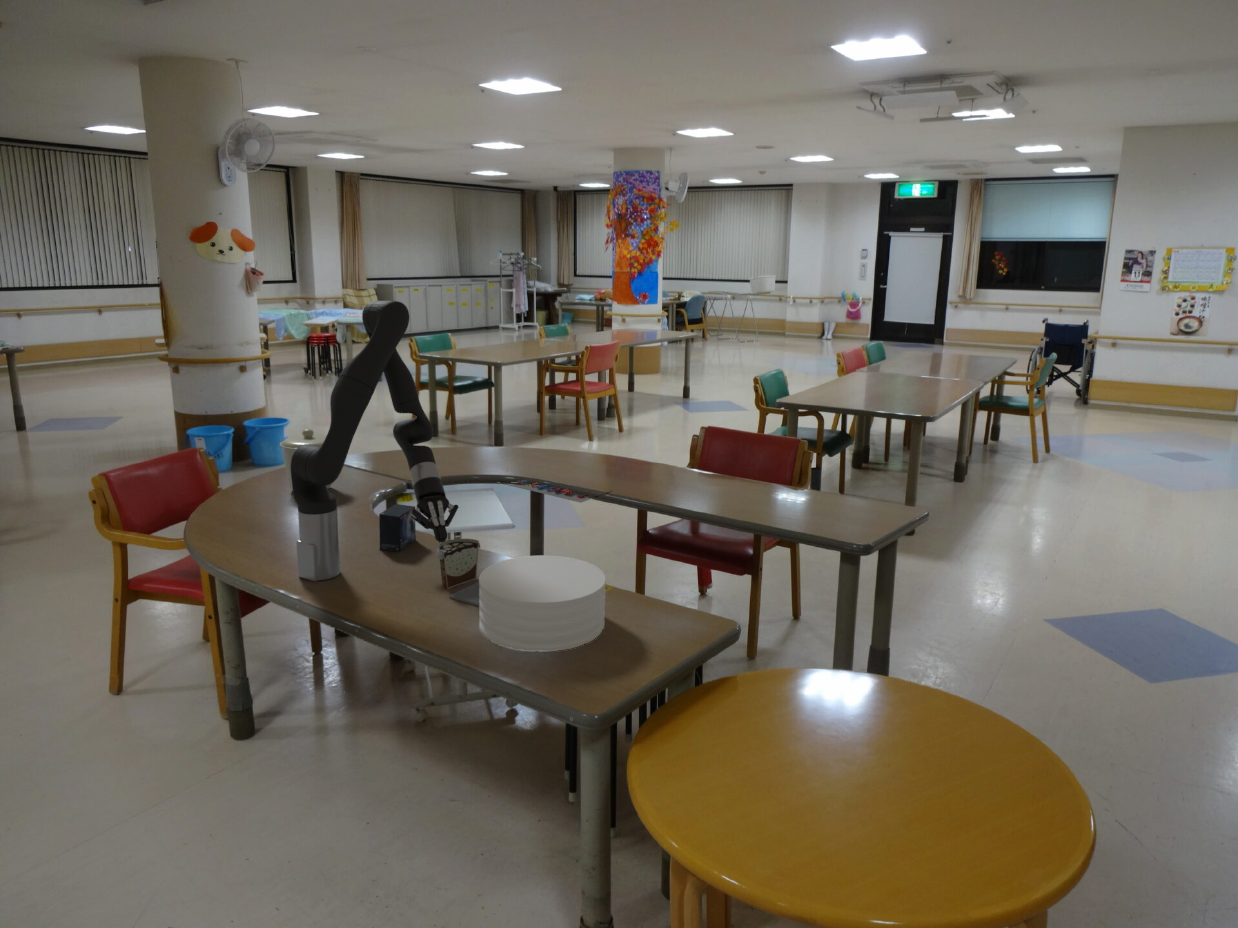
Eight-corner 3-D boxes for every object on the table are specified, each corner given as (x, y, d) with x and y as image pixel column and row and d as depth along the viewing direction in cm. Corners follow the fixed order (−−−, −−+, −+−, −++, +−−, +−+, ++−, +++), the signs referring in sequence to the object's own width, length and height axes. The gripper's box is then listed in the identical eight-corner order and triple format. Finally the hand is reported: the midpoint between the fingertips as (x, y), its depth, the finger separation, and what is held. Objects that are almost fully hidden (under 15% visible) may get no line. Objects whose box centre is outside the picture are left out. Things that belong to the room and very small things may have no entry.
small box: (400, 552, 235) (399, 516, 232) (378, 550, 236) (377, 513, 233) (417, 540, 245) (416, 505, 242) (396, 538, 246) (394, 503, 244)
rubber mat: (482, 607, 201) (482, 605, 201) (449, 597, 206) (449, 595, 206) (528, 583, 216) (528, 581, 216) (496, 575, 221) (496, 572, 221)
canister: (348, 484, 298) (345, 425, 293) (323, 499, 281) (320, 436, 275) (299, 481, 300) (296, 422, 295) (272, 495, 283) (267, 432, 278)
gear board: (614, 485, 301) (580, 497, 286) (614, 492, 302) (580, 504, 286) (518, 463, 326) (482, 473, 311) (518, 470, 327) (482, 480, 311)
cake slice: (464, 571, 223) (464, 534, 221) (480, 577, 219) (480, 540, 217) (426, 584, 214) (425, 546, 211) (442, 590, 210) (441, 552, 208)
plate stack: (542, 590, 213) (543, 546, 210) (629, 624, 195) (631, 577, 192) (453, 625, 192) (452, 577, 189) (542, 666, 174) (542, 613, 171)
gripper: (404, 478, 221) (420, 537, 214) (454, 473, 227) (470, 530, 220) (399, 492, 227) (414, 551, 220) (448, 487, 233) (464, 544, 226)
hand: (442, 540), depth 220 cm, fingers closed
